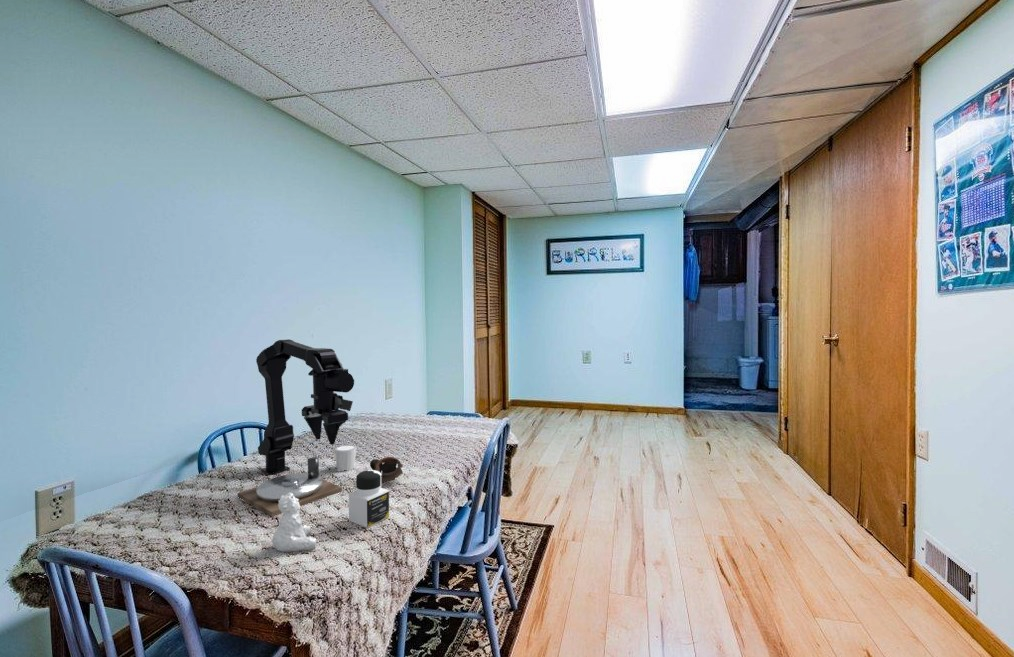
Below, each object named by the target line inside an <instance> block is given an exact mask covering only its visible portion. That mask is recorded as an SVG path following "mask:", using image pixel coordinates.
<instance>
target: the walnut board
mask: <svg viewBox="0 0 1014 657" xmlns="http://www.w3.org/2000/svg"><path fill="white" fill-rule="evenodd" d="M257 487H258V486H256V487H252V488H249V489H246V490H244V491H243V490H242V491H239V492H237V495H236V498H238V497H239V498H238V499H240V498H241V499H243V500H244V502H245V501H246V502H245V503H247V504H249V505H250V504H251V506H252V507H254V508H256V509H257V510H259V511H261V512H263V513H265V514H267V515H268V516H270V517H272V518H273V517H276V516H279V515H281V514H283V513H282V512H281V511H280V509H279V507H278V504H279V502H269V501H263V500H261V499H259V498H258V497H257V492H256V490H257ZM341 492H343V487H342V486H340V485H337V484H334V483H332V482H330V481H327V480H325V479H323V478H322V487H321V489H320V490H318V491H317V492H315V493H313V494H311V495H309V496H306V497H303V498H300V499H299V501H298V502H299V504H300V506H301V507H303V506H306V505H308V503H309V504H311V503H313V501H314V502H316V500H317V501H319V499H320V500H322V499H325V498H327V496H328V497H330V496H333V495H336V494H338V493H341ZM324 497H325V498H324ZM241 499H240V500H241ZM243 500H242V501H243ZM305 504H306V505H305ZM302 505H303V506H302Z"/></svg>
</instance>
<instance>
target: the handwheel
mask: <svg viewBox="0 0 1014 657" xmlns="http://www.w3.org/2000/svg"><path fill="white" fill-rule="evenodd" d="M319 460H320V459H319V457H318V456H313V457H308V458H307V472H301V473H300V472H299V473H298V472H297V473H289V474H284V475H280V476H279V475H278V476H275V477H272V478H270V479H268V480H265V481H263V482H262V483H260V484H259V485H258V486H256V487H257V490H256V492H257V497H258V498H259V499H261V500H263V501H269V502H278V501H279V500H280V499H281V496H282V495H283V496H285V495H286V494H287V493H293V495H294V497H295V498H297V499H300V498H303V497H306V496H309V495H311V494H313V493H315V492H317V491H318V490H320V489H321V487H322V479H323V478H322V477H321V476H320V470H319V469H320V467H319V466H320V465H319V464H320V463H319Z"/></svg>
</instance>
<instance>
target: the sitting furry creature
mask: <svg viewBox="0 0 1014 657" xmlns="http://www.w3.org/2000/svg"><path fill="white" fill-rule="evenodd" d="M298 501H299V499H297V498H295V497H294V495H293V493H287V494H286V495H285V496H283V495H282V496H281V499H280V500H279V501H278V502H279V504H278V507H279V509H280V511H281V512H282V513H281V514H282V516H281V517H280V520H279V523H278V527H277V529H275V532H274V533H273V536H272V539H271V545H272V547H273V549H274V550H277V551H279V552H282V553H288V552H298V551H299V552H302V551H311V550H315V549H316V548H317V538H315V537H312V536H311V535H310V534H311V532H312V529H311V526H310V525H306V524H304V525H303V520H302V519H301V518H302V517H301V515H300V512H299V510H300V509H301V507H302V506H300V504H299V502H298ZM308 535H309V536H308Z"/></svg>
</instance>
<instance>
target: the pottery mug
mask: <svg viewBox="0 0 1014 657" xmlns="http://www.w3.org/2000/svg"><path fill="white" fill-rule="evenodd" d="M369 467H370V468H371V470H376V471H379V472H380V473H381V485H382V484H385V483H389V482H392V481H395V479H398V478H399V477H400V476H401V475H403V474H404V472H403V470H402V468H403V467H404V465H403V464H402V463H401V461H400V460H399V459H398V458H397V457H394V456H386V457H385V456H384V457H382V458H381V459H377V458H374V459H372V460H371V461H370V463H369ZM399 475H400V476H399Z"/></svg>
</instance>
